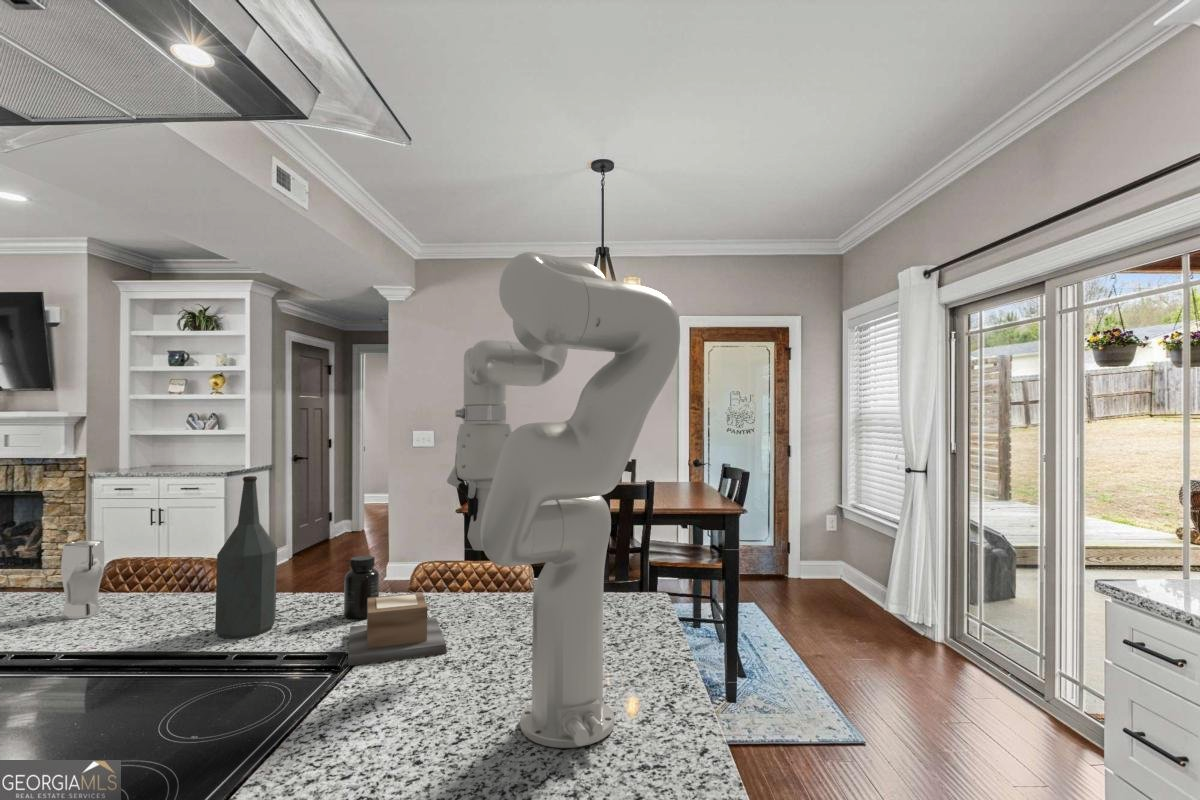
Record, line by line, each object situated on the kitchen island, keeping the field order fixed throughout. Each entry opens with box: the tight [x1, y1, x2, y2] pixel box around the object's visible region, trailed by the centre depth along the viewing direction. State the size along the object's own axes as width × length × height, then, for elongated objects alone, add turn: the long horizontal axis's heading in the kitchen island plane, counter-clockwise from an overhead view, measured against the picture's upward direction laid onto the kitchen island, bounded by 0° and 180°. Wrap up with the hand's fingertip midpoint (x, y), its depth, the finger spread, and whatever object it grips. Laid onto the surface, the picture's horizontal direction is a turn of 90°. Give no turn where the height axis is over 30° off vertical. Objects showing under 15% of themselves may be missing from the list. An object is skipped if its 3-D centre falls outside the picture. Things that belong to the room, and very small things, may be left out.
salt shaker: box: [467, 480, 493, 552], centre depth 108 cm, size 6×6×13 cm
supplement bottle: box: [343, 555, 380, 621], centre depth 128 cm, size 7×7×12 cm
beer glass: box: [60, 539, 105, 620], centre depth 128 cm, size 7×7×15 cm
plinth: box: [347, 592, 447, 667], centre depth 112 cm, size 16×16×8 cm
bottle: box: [214, 475, 278, 640], centre depth 119 cm, size 10×10×30 cm
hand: (484, 518), depth 108 cm, fingers closed on salt shaker, 3 cm apart
